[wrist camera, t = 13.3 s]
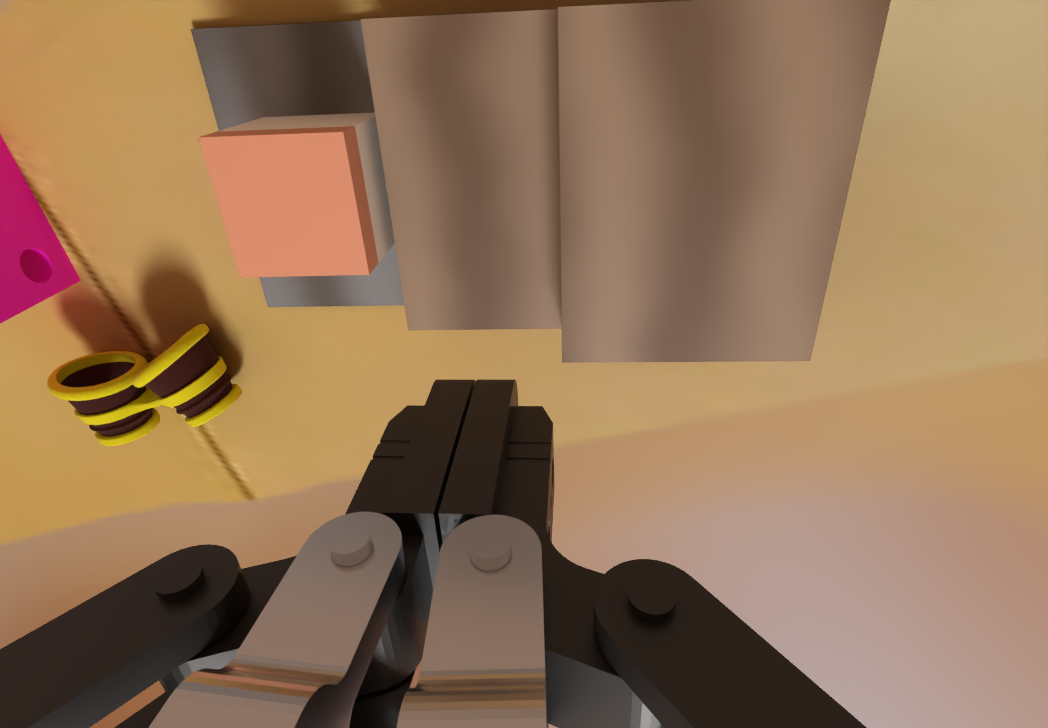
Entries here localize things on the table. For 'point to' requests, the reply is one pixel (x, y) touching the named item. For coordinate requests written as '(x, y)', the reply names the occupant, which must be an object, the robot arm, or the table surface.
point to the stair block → (588, 164)
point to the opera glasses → (145, 387)
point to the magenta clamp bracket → (26, 246)
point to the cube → (302, 194)
